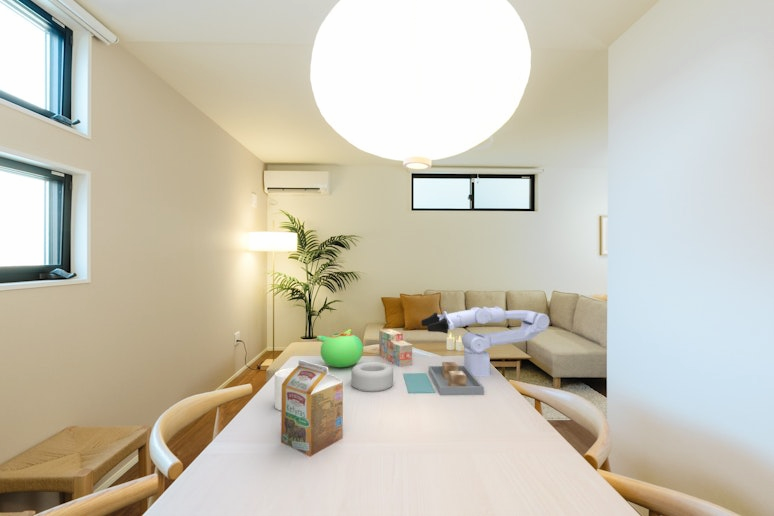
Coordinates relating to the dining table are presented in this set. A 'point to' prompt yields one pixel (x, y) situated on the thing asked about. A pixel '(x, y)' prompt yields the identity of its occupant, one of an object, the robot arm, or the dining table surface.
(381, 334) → the stack of blocks
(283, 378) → the mug
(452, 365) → the plain box
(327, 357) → the toy bird
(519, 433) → the dining table surface
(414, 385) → the teal board
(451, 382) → the labelled box
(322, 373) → the milk carton
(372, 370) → the fat ring
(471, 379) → the tray
